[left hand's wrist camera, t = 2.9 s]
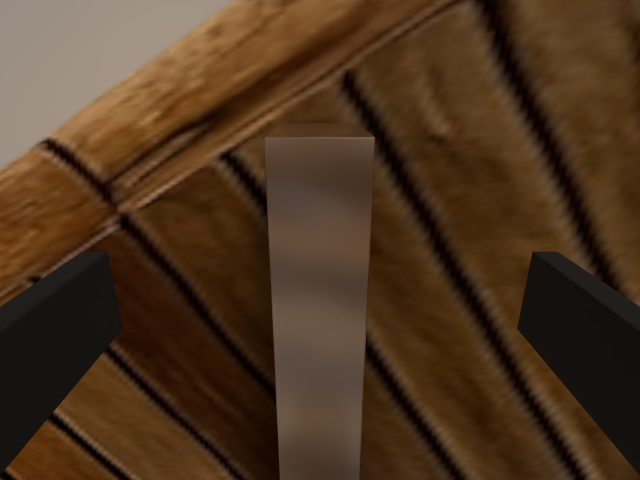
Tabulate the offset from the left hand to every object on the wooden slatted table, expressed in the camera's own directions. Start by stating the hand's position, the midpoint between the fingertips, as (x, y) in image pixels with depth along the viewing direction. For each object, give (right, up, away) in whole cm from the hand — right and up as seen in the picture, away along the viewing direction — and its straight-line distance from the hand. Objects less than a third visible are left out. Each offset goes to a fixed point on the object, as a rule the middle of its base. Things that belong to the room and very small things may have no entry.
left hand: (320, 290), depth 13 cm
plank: (0, -13, +20) cm, 24 cm away
